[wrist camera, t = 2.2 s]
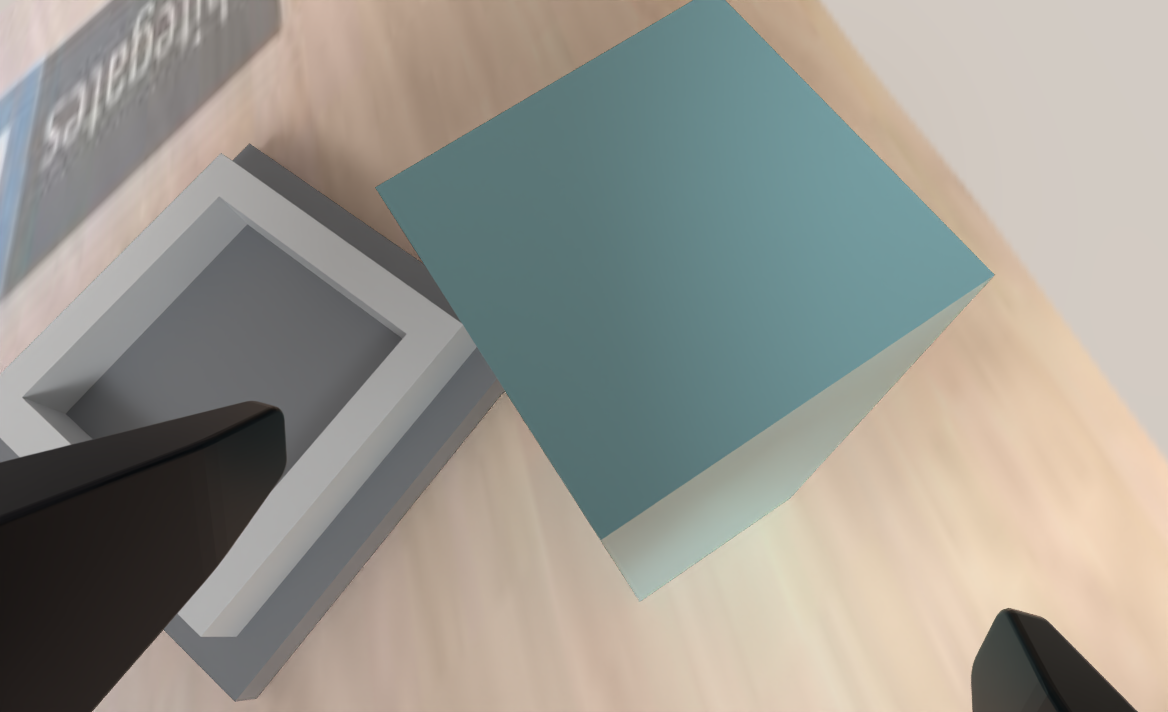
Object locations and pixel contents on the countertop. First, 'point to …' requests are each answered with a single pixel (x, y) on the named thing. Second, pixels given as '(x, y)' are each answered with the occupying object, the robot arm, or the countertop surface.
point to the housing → (683, 279)
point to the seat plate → (265, 388)
